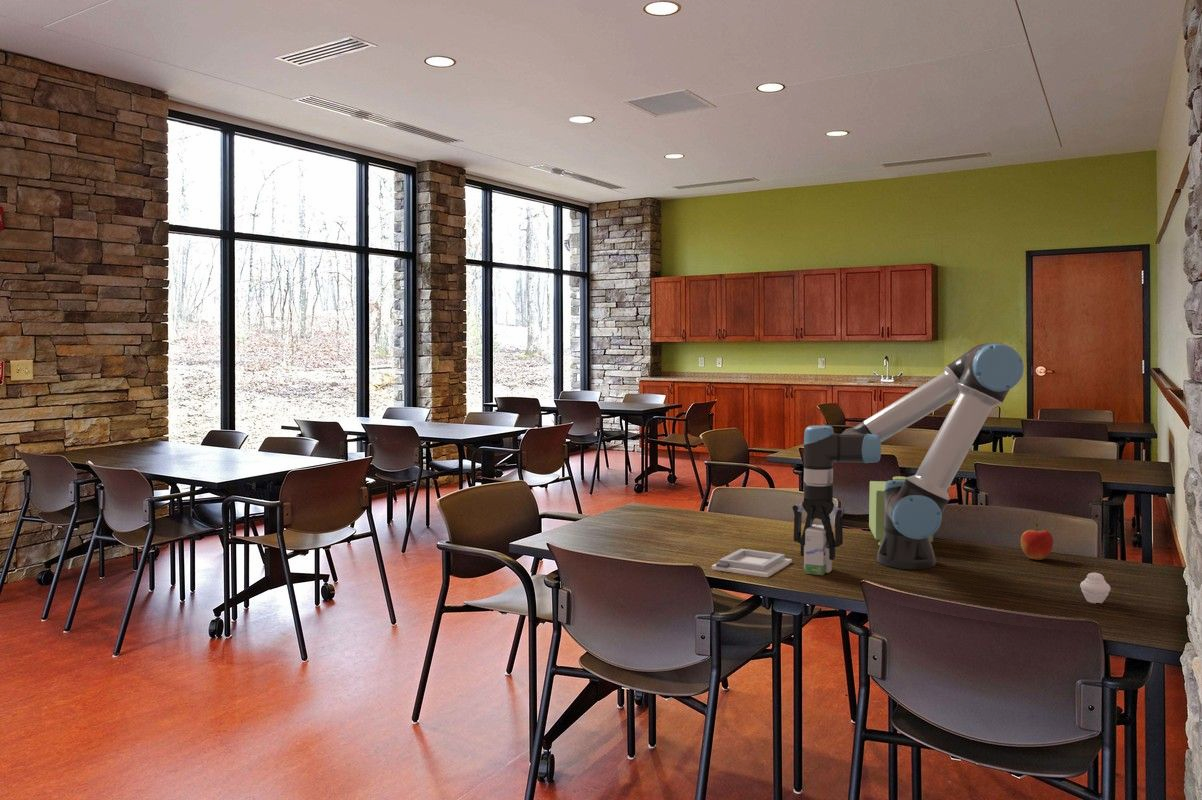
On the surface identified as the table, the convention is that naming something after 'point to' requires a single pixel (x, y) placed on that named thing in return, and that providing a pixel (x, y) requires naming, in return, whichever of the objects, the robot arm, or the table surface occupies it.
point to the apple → (1036, 544)
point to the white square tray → (752, 563)
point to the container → (879, 508)
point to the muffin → (1095, 588)
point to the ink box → (815, 550)
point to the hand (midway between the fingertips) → (817, 569)
